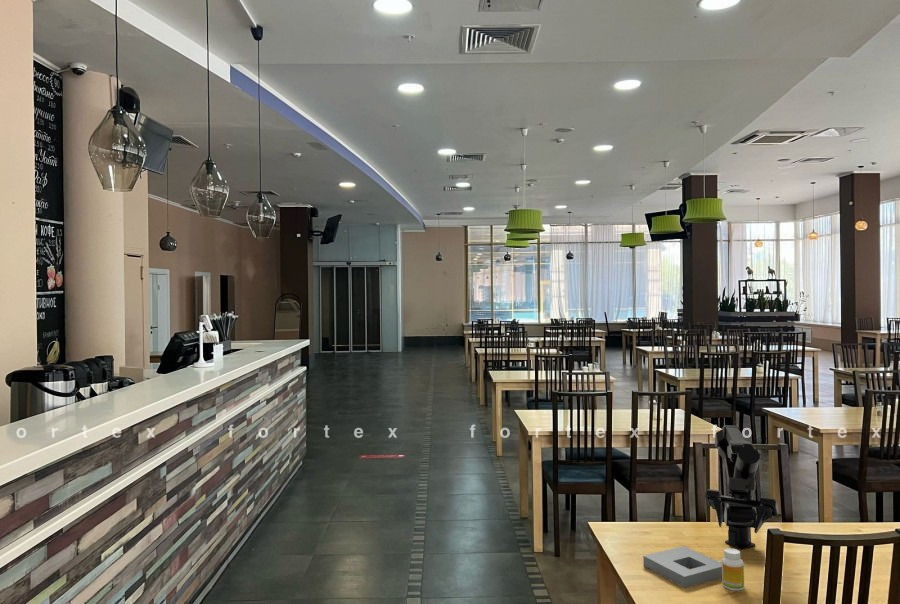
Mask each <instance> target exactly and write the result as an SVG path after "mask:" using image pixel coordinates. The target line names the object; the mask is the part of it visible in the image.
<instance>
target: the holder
mask: <svg viewBox="0 0 900 604" xmlns="http://www.w3.org/2000/svg"><path fill="white" fill-rule="evenodd" d="M642 557H643V560H642V561H643V567H645V568H646V569H648V568H649V569H648V570H650V571H652V570H653V572H654V571H655V572H654V573H657V574H658V575H660V576H661V577H663V578H665V579H667V580H670V581H671V582H673V583H675V584H677V585H678V586H680V587H682V588H684V589H685V588H688V587H693V586H697V585H700V584H703V583H706V582H710V581H714V580H717V579H722V561H721V562H720V561H718V560H717V559H715V558H712V557H711V556H710V557H709V556H708V555H705V554H703V553H701V552H698V551H696V550H695V549H692V548H690V547H687V546H686V545H682V546H678V547H674V548H669V549H665V550H661V551H657V552H654V553H649V554H645V555H643V556H642Z"/></svg>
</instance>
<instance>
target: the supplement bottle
mask: <svg viewBox="0 0 900 604" xmlns="http://www.w3.org/2000/svg"><path fill="white" fill-rule="evenodd" d="M723 551H724V552H723V554H724V556H723V557H722V558H721V563H722V578H721V580H722V582H721V583H722V586H723V587H724V588H725V589H728V590H730V591H737V592H739V591H743V590H744V589H745V571H744V569H745V568H744V567H745V566H744V561H743V559H741V551H740V550H738V548H737V549H736V548H733V547H732V548H731V547H727V548H725V549H723Z"/></svg>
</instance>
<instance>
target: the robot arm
mask: <svg viewBox="0 0 900 604" xmlns="http://www.w3.org/2000/svg"><path fill="white" fill-rule="evenodd" d="M743 436H744V435H743V432H741V427H740V426H738V425H726V424H725V425H723V426H722V428H721V429H719V430H718V431H716V432H715V436H714V447H715V448H717V452H718V455H719V456H720V457H721V458H722V459H723V460H724V466H725V467H724V468H725V472H726V479H727V488H728V493H729V496H727V495H723V494H722V491H721V490H719V489H718V490H717V489H711V488H707V489H706V490H705V492H704V493H705V494H704V498H705V501H706V503H707V505H708V506H709V507H711V508H712V510H715V513H716V517H717V521H718V522H717V523H718V527H719V528H722V526H723V521H724V524H725V526H726V527H728V530H727V537H728V538H727V539H726V540H724V543H725V544H727V545H730V546H733V547H736V548H737V549H740V550H743V549H747V548H751V547H755V546H756V543H755V542H752V533H751V530H752V528H753V530H754V533H755V534H758V532H759V531H760V529H761V528H762V526H763V525H764V524H765V523H766V522H767V521H768V520H769V519H773V517H778V516H779V505H778V502H777V500H776V498H774V497H767V496H760V497H759V499H760V500H755V499H754V493H755V491H756V489H757V480H756V474H757V473H756V472H757V470H758V467H759V462H760V458H761V453H760V452H759V451H758V450H757V447H755V446H754V445H753V443H752V442H751V441H749V440H745V439H744V437H743ZM724 504H726V506H725V507H724V508H723V506H724ZM755 508H756V509H758V510H757V512H756V509H755Z"/></svg>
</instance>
